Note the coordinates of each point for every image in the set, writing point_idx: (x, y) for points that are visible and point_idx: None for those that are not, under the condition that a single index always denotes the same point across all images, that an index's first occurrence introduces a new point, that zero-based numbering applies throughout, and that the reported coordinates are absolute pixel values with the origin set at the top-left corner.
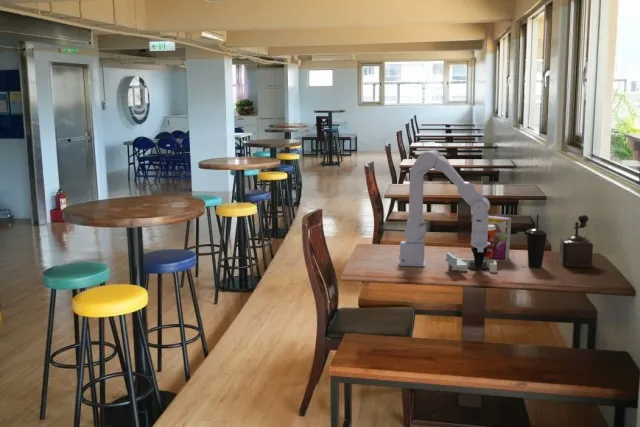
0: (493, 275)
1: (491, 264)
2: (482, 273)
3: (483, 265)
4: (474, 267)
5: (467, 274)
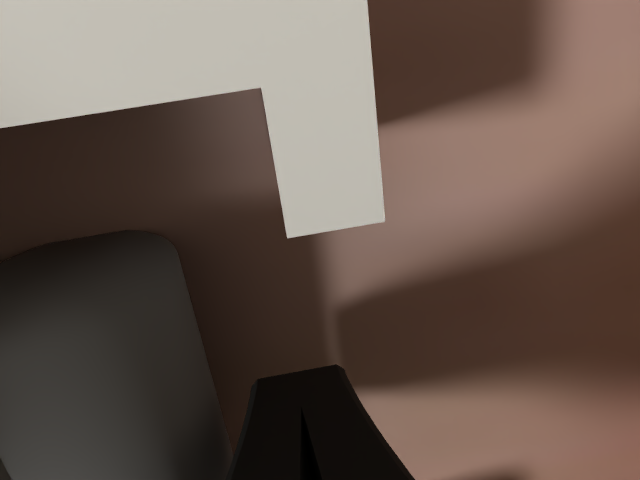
0: (635, 20)
1: (373, 166)
2: (485, 266)
3: (193, 353)
4: None
5: (585, 462)
